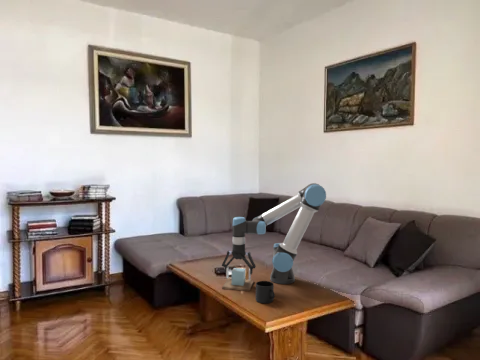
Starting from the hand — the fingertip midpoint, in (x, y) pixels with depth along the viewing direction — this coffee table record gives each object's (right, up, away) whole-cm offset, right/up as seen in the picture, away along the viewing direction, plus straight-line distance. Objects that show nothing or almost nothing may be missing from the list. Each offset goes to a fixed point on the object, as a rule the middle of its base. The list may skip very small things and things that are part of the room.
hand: (238, 278), depth 221 cm
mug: (+15, -6, -24) cm, 29 cm away
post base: (0, -4, 0) cm, 4 cm away
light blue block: (0, -3, 0) cm, 3 cm away
